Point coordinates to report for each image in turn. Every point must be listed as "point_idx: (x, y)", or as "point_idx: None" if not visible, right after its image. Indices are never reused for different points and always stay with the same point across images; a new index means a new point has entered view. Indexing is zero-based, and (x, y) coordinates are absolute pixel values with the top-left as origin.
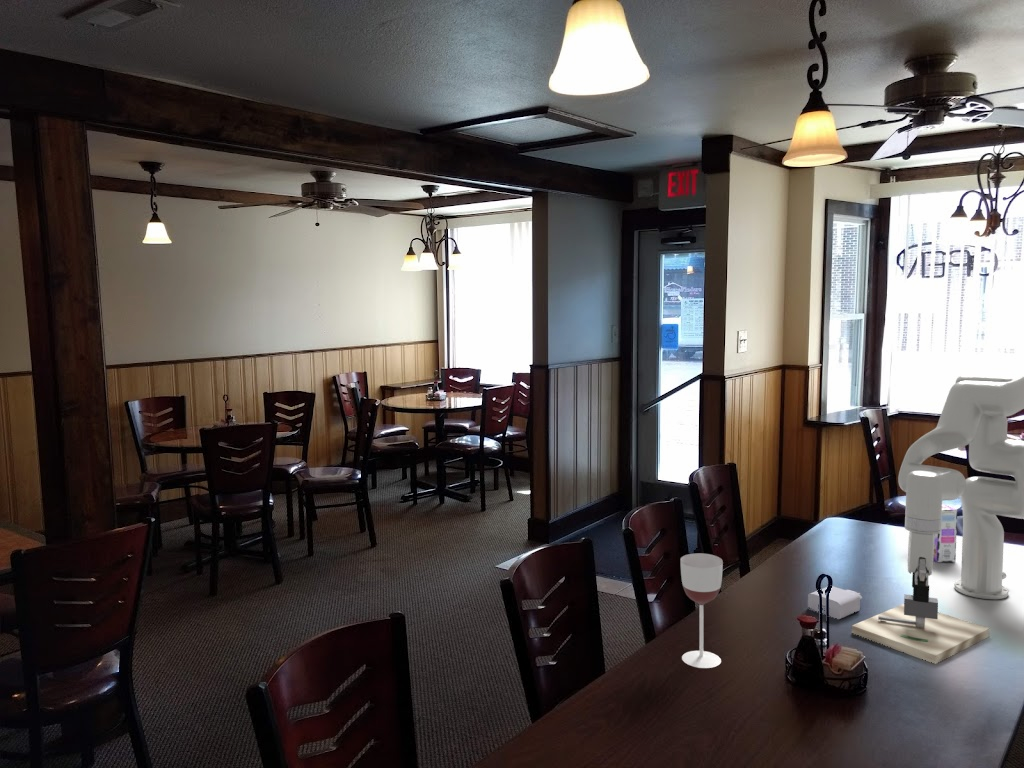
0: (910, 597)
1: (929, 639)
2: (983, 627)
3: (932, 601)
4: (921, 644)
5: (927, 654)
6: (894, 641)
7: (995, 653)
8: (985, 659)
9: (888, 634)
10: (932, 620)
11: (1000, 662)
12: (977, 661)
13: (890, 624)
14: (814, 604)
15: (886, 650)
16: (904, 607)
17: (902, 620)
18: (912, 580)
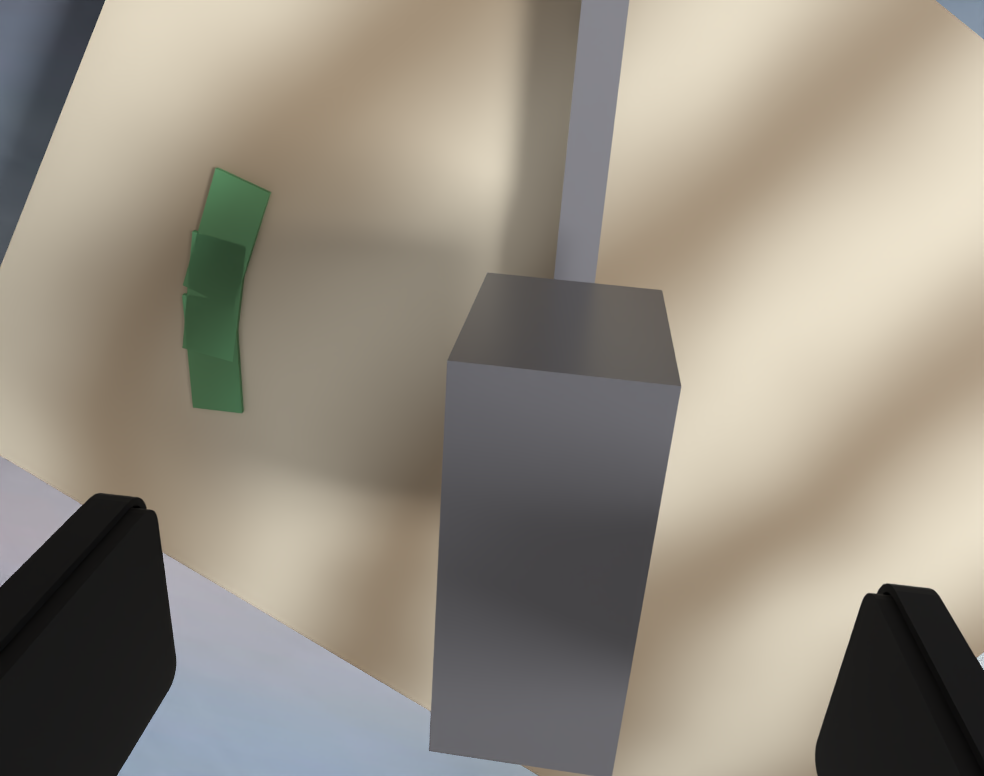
0: (541, 458)
1: (267, 426)
2: None
3: (461, 704)
4: (111, 343)
5: None
6: (74, 93)
7: (390, 769)
8: (260, 697)
9: (209, 39)
10: (777, 528)
11: (254, 758)
12: (202, 648)
13: (532, 86)
14: None
15: (54, 4)
16: (473, 309)
17: (559, 236)
18: (941, 679)
